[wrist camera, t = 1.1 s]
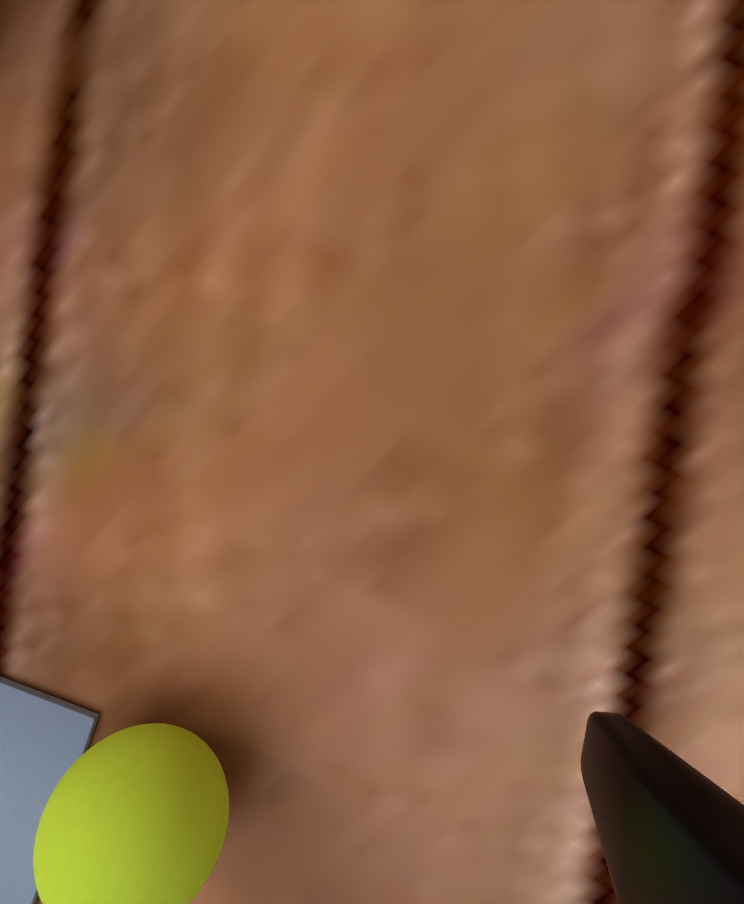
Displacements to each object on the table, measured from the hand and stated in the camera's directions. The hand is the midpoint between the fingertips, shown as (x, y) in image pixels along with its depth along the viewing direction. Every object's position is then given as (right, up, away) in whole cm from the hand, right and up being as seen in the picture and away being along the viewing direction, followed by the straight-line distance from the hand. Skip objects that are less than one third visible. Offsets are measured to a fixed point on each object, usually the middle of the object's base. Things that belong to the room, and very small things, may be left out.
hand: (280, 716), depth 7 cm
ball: (-7, -10, +15) cm, 20 cm away
